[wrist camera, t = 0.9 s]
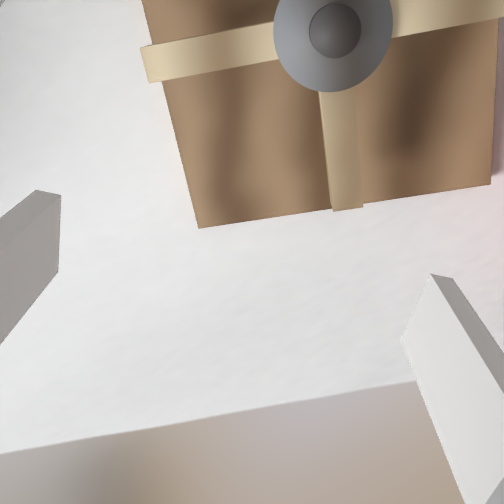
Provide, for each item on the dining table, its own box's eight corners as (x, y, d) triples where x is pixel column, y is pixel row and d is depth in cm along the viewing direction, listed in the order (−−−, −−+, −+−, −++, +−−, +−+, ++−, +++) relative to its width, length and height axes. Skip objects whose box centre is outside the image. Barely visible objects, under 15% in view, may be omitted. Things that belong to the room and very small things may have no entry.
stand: (200, 222, 37) (192, 246, 33) (102, -177, 26) (74, -208, 22) (483, 178, 34) (509, 199, 31) (503, -277, 24) (546, -331, 20)
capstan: (192, 220, 32) (183, 246, 28) (97, -158, 23) (66, -188, 20) (530, 168, 30) (564, 189, 26) (568, -274, 21) (629, -331, 17)
